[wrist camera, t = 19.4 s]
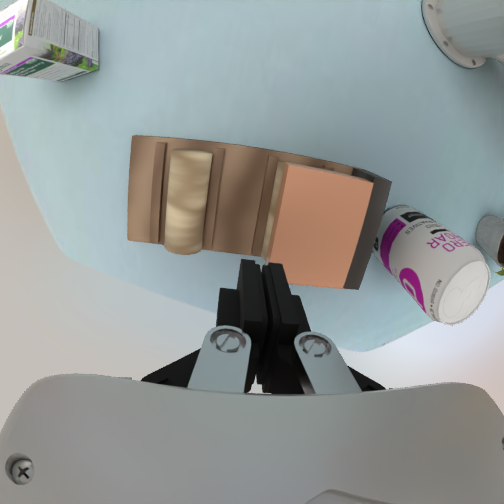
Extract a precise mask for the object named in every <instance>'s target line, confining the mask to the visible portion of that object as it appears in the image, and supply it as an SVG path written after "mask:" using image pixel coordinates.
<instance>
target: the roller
mask: <svg viewBox="0 0 504 504" xmlns="http://www.w3.org/2000/svg"><path fill="white" fill-rule="evenodd" d="M288 163H291V162H288ZM284 164H285V162H282V161H279V162H278V165H277V170H276V176H275V182H274V187H273V193H272V198H271V204H270V209H269V214H268V220H267V225H266V231H265V236H264V241H263V247H262V252H261V256H262V258H263V259H265V260H266V257H267V252H268V247H269V242H270V237H271V232H272V227H273V222H274V216H275V211H276V206H277V201H278V196H279V190H280V185H281V180H282V175H283V169H284ZM294 164H296V163H294ZM299 165H301V164H299ZM304 166H305V165H304Z"/></svg>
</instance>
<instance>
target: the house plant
mask: <svg viewBox="0 0 504 504" xmlns="http://www.w3.org/2000/svg"><path fill="white" fill-rule="evenodd" d="M476 241H477V243H478V244H479V245H480V246H481V247H482V248H483V249H484V250H485V251H486V252H487V253H488V254H489V255H490V256H491V258H492V259H493V260H494V261H495V262H496V263H497V264H498V265H499V266H500V267H503V268H502V270H501V271H499V272H495V273H497V274H499V275H504V219H500V218H497V217H493V216H490V215H487V216H485V217H483V218H482V219H481V221H480V222H479V224H478V226H477V230H476Z"/></svg>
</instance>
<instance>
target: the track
mask: <svg viewBox="0 0 504 504" xmlns="http://www.w3.org/2000/svg"><path fill="white" fill-rule="evenodd" d="M173 149H191V150H200V151H206V152H210V153H213V155H212V163H211V170H210V178H209V186H208V194H207V202H206V211H205V220H204V229H203V239H202V250H211V251H219V252H227V253H235V254H244V255H252V256H260V257H262V256H261V252H262V247H263V241H264V236H265V231H266V225H267V220H268V214H269V209H270V204H271V198H272V193H273V187H274V182H275V176H276V170H277V165H278V162H279V161H282V162H291V163H296V164H301V165H305V166H310V167H315V168H319V169H324V170H329V171H334V172H338V173H343V174H347V175H351V176H355V177H360V178H364V179H366V180H368V181H370V182H372V183H374V184H373V188H372V192H371V196H370V200H369V204H368V207H367V211H366V215H365V218H364V222H363V225H362V229H361V232H360V236H359V239H358V243H357V246H356V249H355V252H354V256H353V259H352V262H351V265H350V268H349V271H348V274H347V277H346V280H345V283H344V286H343V288H344V289H356V290H359V287H360V284H361V282H362V279H363V276H364V273H365V270H366V267H367V264H368V262H369V259H370V256H371V252H372V249H373V246H374V243H375V240H376V237H377V233H378V230H379V227H380V223H381V220H382V217H383V213H384V210H385V206H386V202H387V199H388V195H389V191H390V187H391V183H392V181H389V180H387V179H385V178H383V177H380V176H378V175H376V174H374V173H371V172H369V171H366V170H363V169H360V168H356V167H352V166H347V165H343V164H339V163H335V162H330V161H326V160H321V159H316V158H312V157H307V156H302V155H296V154H291V153H286V152H280V151H274V150H269V149H262V148H256V147H250V146H243V145H236V144H228V143H220V142H212V141H203V140H193V139H182V138H170V137H156V136H137V135H135V136H132V143H131V155H130V169H129V187H128V240H130V241H138V242H146V243H154V244H162V245H164V243H165V223H166V207H167V194H168V182H169V171H170V161H171V152H172V150H173Z"/></svg>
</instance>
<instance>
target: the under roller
mask: <svg viewBox="0 0 504 504" xmlns="http://www.w3.org/2000/svg"><path fill="white" fill-rule="evenodd" d="M212 155H213V153H210V152H206V151H200V150H191V149H173V150H172V152H171V161H170V171H169V182H168V194H167V207H166V223H165V243H164V247H165V249H166V250H168V251H170V252H172V253H175V254H181V255H190V254H195V253H198V252H199V251H200V250H201V249H202V239H203V229H204V220H205V211H206V202H207V194H208V186H209V178H210V170H211V163H212Z"/></svg>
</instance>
